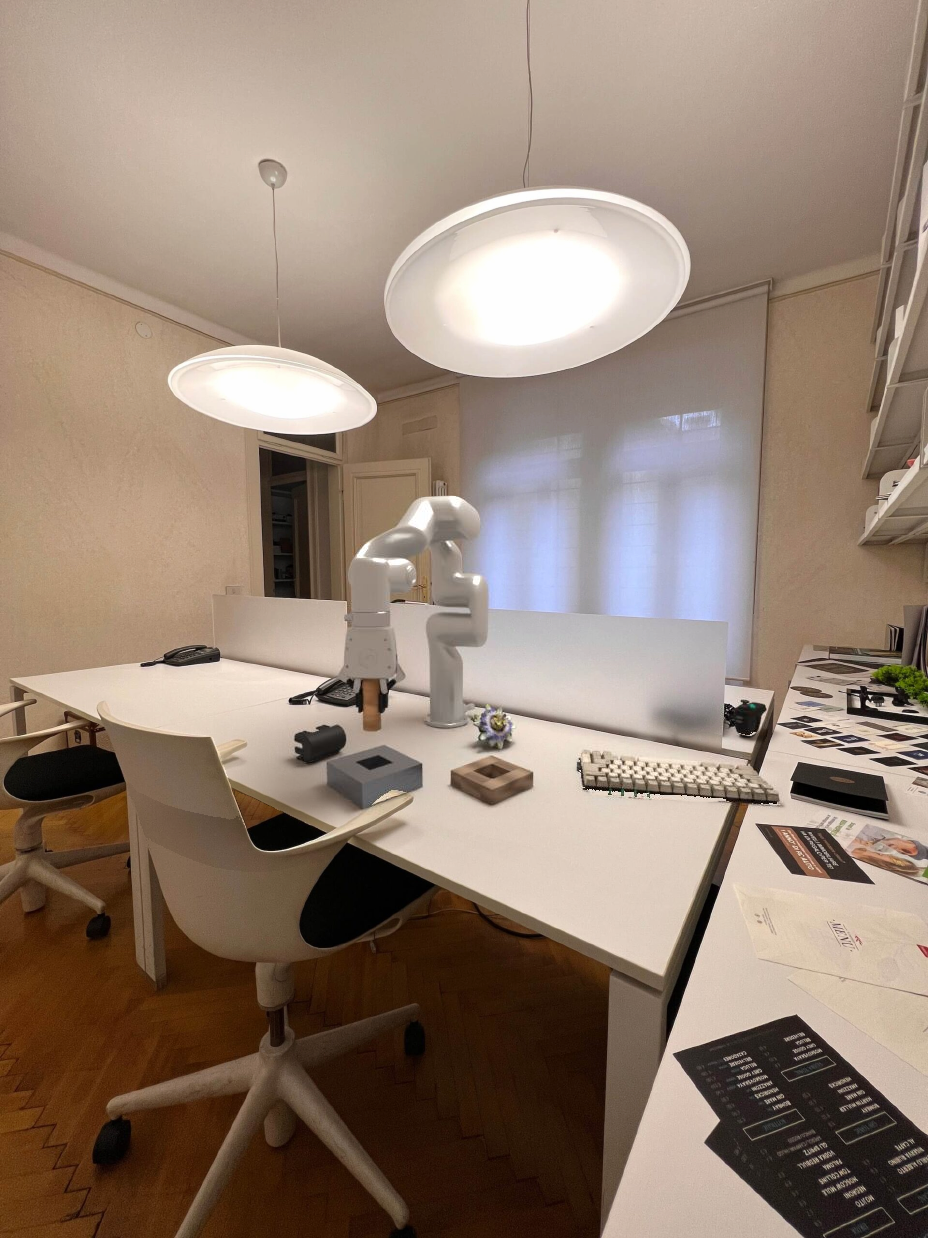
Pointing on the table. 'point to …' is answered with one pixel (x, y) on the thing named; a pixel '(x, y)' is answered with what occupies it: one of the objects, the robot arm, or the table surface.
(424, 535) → the robot arm
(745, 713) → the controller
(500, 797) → the frame
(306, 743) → the end cap
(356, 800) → the socket block
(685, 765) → the mechanical keyboard
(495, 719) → the passion flower
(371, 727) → the pin
